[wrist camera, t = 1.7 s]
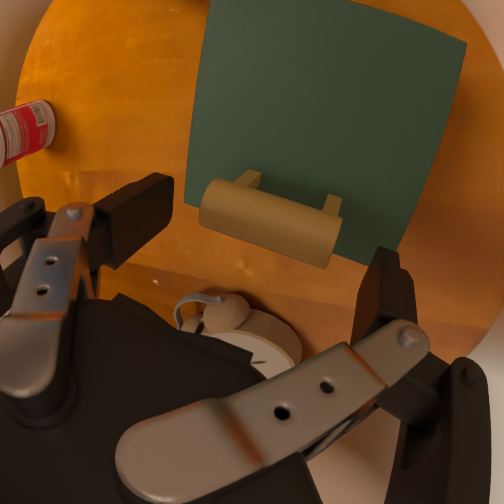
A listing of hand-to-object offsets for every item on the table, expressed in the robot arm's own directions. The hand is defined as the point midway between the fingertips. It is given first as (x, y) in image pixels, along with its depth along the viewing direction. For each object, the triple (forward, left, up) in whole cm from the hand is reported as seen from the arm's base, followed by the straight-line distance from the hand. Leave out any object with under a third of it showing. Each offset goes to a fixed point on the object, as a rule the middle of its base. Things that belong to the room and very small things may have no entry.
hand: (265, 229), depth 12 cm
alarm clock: (+21, -3, -13) cm, 25 cm away
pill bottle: (+3, -32, -13) cm, 34 cm away
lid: (-3, 0, -5) cm, 6 cm away
